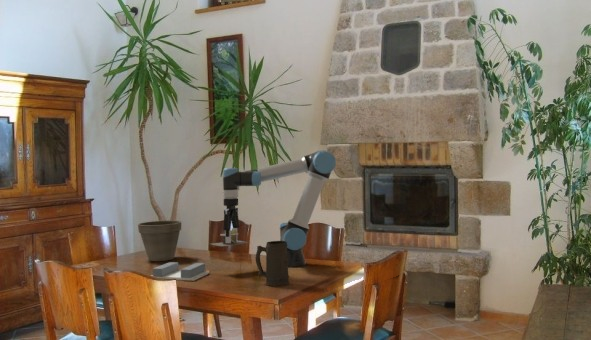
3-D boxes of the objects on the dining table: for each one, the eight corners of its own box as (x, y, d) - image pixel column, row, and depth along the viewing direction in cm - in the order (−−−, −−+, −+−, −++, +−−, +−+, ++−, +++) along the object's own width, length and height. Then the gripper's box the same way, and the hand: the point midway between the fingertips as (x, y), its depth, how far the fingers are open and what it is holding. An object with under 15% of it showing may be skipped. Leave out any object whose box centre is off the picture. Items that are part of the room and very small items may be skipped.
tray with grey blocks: (208, 273, 318) (208, 263, 318) (194, 280, 301) (193, 269, 301) (166, 272, 325) (166, 262, 325) (149, 278, 308) (148, 268, 307)
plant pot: (130, 262, 358) (129, 224, 357) (153, 255, 381) (152, 219, 380) (168, 263, 350) (167, 225, 349) (189, 256, 373) (188, 220, 373)
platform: (251, 242, 322) (251, 230, 322) (220, 246, 311) (220, 233, 311) (239, 240, 331) (239, 228, 331) (209, 243, 321) (209, 231, 320)
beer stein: (290, 281, 295) (286, 239, 295) (291, 285, 284) (287, 242, 284) (258, 284, 295) (254, 242, 294) (257, 289, 284) (253, 245, 283)
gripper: (231, 196, 332) (232, 238, 333) (215, 199, 312) (216, 244, 312) (244, 196, 330) (245, 239, 331) (230, 199, 310) (230, 245, 310)
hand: (231, 241), depth 322 cm, fingers closed on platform, 8 cm apart
